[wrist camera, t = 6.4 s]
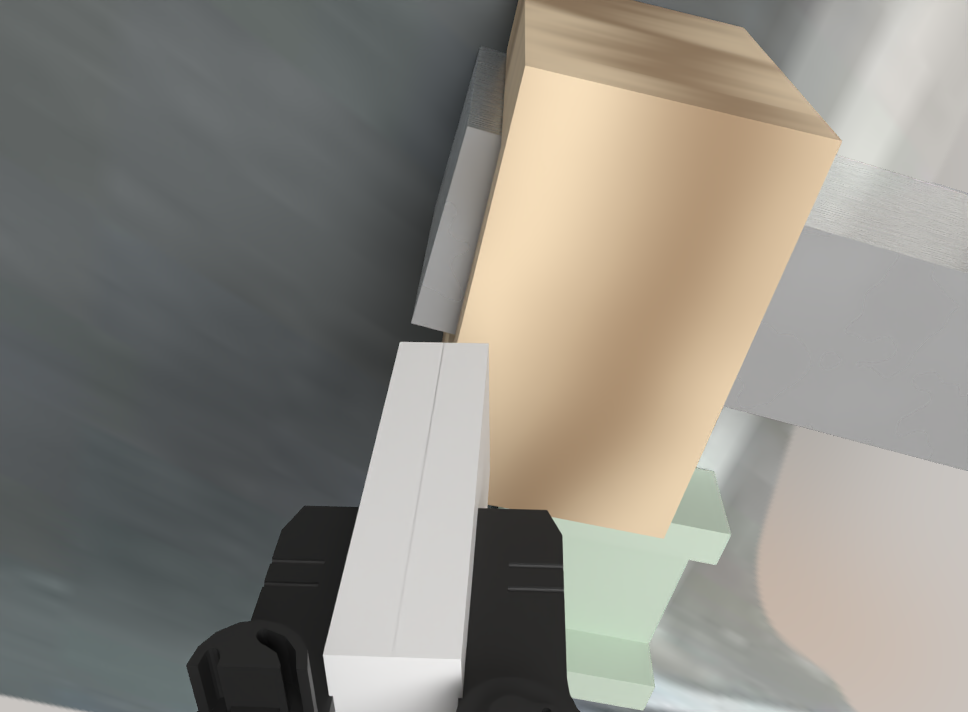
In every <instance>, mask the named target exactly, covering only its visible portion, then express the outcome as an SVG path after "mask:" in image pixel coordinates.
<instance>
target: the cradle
mask: <svg viewBox="0 0 968 712" xmlns="http://www.w3.org/2000/svg"><path fill="white" fill-rule="evenodd" d="M498 509H508V508H503V507H498ZM552 519H553V520H554V522H555V524H556V525H557V527H558V529H559V530H560V532H561V534H562V536H563V570H564V599H565V630H566V661H567V681H568V687H569V692H570V695H571V697H572V698H576V699H582V700H587V701H593V702H599V703H604V704H610V705H615V706H621V707H627V708H632V709H638V710H644V708H645V706H646V704H647V702H648V700H649V698H650V696H651V694H652V692H653V690H654V688H655V683H654V676H653V669H652V662H651V656H650V649H649V642H650V640H651V638H652V636H653V634H654V632H655V630H656V628H657V625H658V623H659V621H660V619H661V617H662V615H663V613H664V611H665V609H666V607H667V604H668V602H669V600H670V598H671V596H672V594H673V592H674V590H675V588H676V586H677V583H678V581H679V579H680V577H681V575H682V573H683V571H684V569H685V567H686V565H687V562H688V560H693V561H698V562H703V563H708V564H713V565H716V564H717V562H718V560H719V558H720V556H721V554H722V552H723V550H724V548H725V546H726V544H727V542H728V540H729V538H730V536H731V532H730V528H729V525H728V521H727V517H726V514H725V510H724V506H723V503H722V499H721V495H720V492H719V488H718V484H717V481H716V477H715V474H714V472H713V471H708V470H703V469H699V468H695V470H694V473H693V475H692V477H691V479H690V482H689V484H688V486H687V488H686V491H685V493H684V495H683V497H682V499H681V502H680V504H679V506H678V508H677V511H676V513H675V515H674V517H673V520H672V522H671V524H670V526H669V528H668V531H667V533H666V535H665V537H664V539H662V538H657V537H652V536H647V535H641V534H636V533H631V532H626V531H621V530H616V529H611V528H606V527H601V526H595V525H590V524H585V523H580V522H575V521H570V520H565V519H560V518H554V517H552Z"/></svg>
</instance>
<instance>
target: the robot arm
mask: <svg viewBox="0 0 968 712" xmlns="http://www.w3.org/2000/svg"><path fill="white" fill-rule="evenodd" d="M489 477H490V426H489V343H436V342H400V344H399V348H398V352H397V356H396V360H395V364H394V368H393V372H392V376H391V380H390V384H389V388H388V393H387V397H386V401H385V405H384V409H383V413H382V417H381V421H380V425H379V429H378V433H377V437H376V441H375V445H374V449H373V453H372V458H371V462H370V466H369V470H368V474H367V478H366V482H365V486H364V490H363V494H362V498H361V502H360V506H359V507H329V506H304V507H303V508H302V509H301V510H300V511H299V512H298V513H297V514H296V515H295V516H294V518H293V519H292V520H291V521H290V522H289V523H288V524H287V525H286V526H285V527H284V528H283V529H282V531H281V534H280V537H279V540H278V543H277V546H276V549H275V551H274V554H273V557H272V564H270V566H269V569H268V572H267V575H266V578H265V581H264V582H265V584H264V587H262V590H261V592H260V595H259V598H258V601H257V604H256V607H255V610H254V613H253V616H252V619H251V621H248V622H240V623H237V624H234V625H232V626H230V627H227V628H225V629H222V630H220V631H218V632H216V633H215V634H213V635H212V636H211V637H210V638H208V639H207V640H206V641H205V642H203V643H202V644H201V645H200V646H198V648H197V649H196V651H195V652H194V654H193V656H192V657H191V659H190V660H189V662H188V663H187V665H186V666H187V670H188V673H189V677H190V681H191V685H192V688H193V692H194V696H195V699H196V703H197V707H198V710H199V711H197V712H580V711H579V710H578V709H577V707H576V705H575V703H574V701H573V699H572V697H571V695H570V692H569V687H568V681H567V661H566V630H565V599H564V570H563V536H562V534H561V532H560V530H559V529H558V527H557V525H556V524H555V522H554V520H553V519H552V517H551V515H550V514H549V512H548V510H533V509H493V508H487V505H488V491H489Z"/></svg>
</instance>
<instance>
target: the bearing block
mask: <svg viewBox="0 0 968 712" xmlns="http://www.w3.org/2000/svg"><path fill="white" fill-rule="evenodd" d="M841 143H842V140H841V139H840V138H839V137H838V136H837V135H836V133H835V132H834V131H833V130H832V129H831V128H830V127H829V125H828V124H827V123H826V122H825V121H824V120H823V118H822V117H821V116H820V115H819V114H818V113H817V112H816V110H815V109H814V108H813V107H812V106H811V105H810V104H809V102H808V101H807V100H806V99H805V98H804V97H803V95H802V94H801V93H800V92H799V91H798V90H797V89H796V87H795V86H794V85H793V84H792V83H791V82H790V81H789V79H788V78H787V77H786V76H785V75H784V74H783V73H782V71H781V70H780V69H779V68H778V67H777V66H776V64H775V63H774V62H773V61H772V60H771V59H770V58H769V56H768V55H767V54H766V53H765V52H764V51H763V50H762V48H761V47H760V46H759V45H758V44H757V43H756V42H755V40H754V39H753V38H752V37H751V36H750V35H749V33H748V32H747V31H746V30H745V29H744V28H743V27H739V26H734V25H730V24H726V23H722V22H718V21H714V20H710V19H706V18H702V17H698V16H694V15H690V14H686V13H682V12H678V11H674V10H670V9H666V8H662V7H658V6H654V5H650V4H646V3H641V2H637V1H633V0H518V5H517V9H516V13H515V18H514V22H513V26H512V31H511V35H510V39H509V43H508V48H507V58H506V74H505V91H504V107H503V124H502V140H501V148H500V152H499V156H498V160H497V164H496V168H495V172H494V177H493V181H492V185H491V189H490V193H489V197H488V201H487V205H486V209H485V214H484V218H483V222H482V226H481V230H480V234H479V238H478V242H477V247H476V251H475V255H474V259H473V263H472V267H471V271H470V275H469V279H468V284H467V288H466V292H465V296H464V300H463V304H462V308H461V312H460V317H459V321H458V325H457V329H456V333H455V335H454V334H450V333H446V332H444V333H443V340H442V343H489V426H490V477H489V491H488V505H493V506H498V507H503V508H508V509H533V510H548V512H549V514H550V515H551V517H554V518H560V519H565V520H570V521H575V522H580V523H585V524H590V525H595V526H601V527H606V528H611V529H616V530H621V531H626V532H631V533H636V534H641V535H647V536H652V537H657V538H662V539H664V537H665V535H666V533H667V531H668V528H669V526H670V524H671V522H672V520H673V517H674V515H675V513H676V511H677V508H678V506H679V504H680V502H681V499H682V497H683V495H684V493H685V491H686V488H687V486H688V484H689V482H690V479H691V477H692V475H693V473H694V470H695V468H696V466H697V464H698V462H699V459H700V457H701V455H702V453H703V450H704V448H705V446H706V444H707V441H708V439H709V437H710V435H711V433H712V430H713V428H714V426H715V424H716V421H717V419H718V417H719V415H720V412H721V410H722V408H723V406H724V404H725V401H726V399H727V397H728V395H729V392H730V390H731V388H732V386H733V383H734V381H735V379H736V377H737V375H738V372H739V370H740V368H741V366H742V363H743V361H744V359H745V357H746V355H747V352H748V350H749V348H750V346H751V343H752V341H753V339H754V337H755V334H756V332H757V330H758V328H759V326H760V323H761V321H762V319H763V317H764V314H765V312H766V310H767V308H768V305H769V303H770V301H771V299H772V297H773V294H774V292H775V290H776V288H777V285H778V283H779V281H780V279H781V276H782V274H783V272H784V270H785V268H786V265H787V263H788V261H789V259H790V256H791V254H792V252H793V250H794V247H795V245H796V243H797V241H798V239H799V236H800V234H801V232H802V230H803V227H804V225H805V223H806V221H807V218H808V216H809V214H810V212H811V210H812V207H813V205H814V203H815V201H816V198H817V196H818V194H819V192H820V189H821V187H822V185H823V183H824V181H825V178H826V176H827V174H828V172H829V169H830V167H831V165H832V163H833V160H834V158H835V156H836V154H837V152H838V149H839V147H840V145H841Z"/></svg>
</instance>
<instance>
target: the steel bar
mask: <svg viewBox="0 0 968 712" xmlns="http://www.w3.org/2000/svg"><path fill="white" fill-rule="evenodd" d="M506 58H507V54H506V53H503V52H499V51H496V50H493V49H490V48H486V47H483V46H480V49H479V52H478V56H477V59H476V63H475V67H474V70H473V74H472V77H471V81H470V84H469V88H468V92H467V95H466V99H465V102H464V106H463V109H462V113H461V117H460V120H459V124H458V127H457V131H456V134H455V138H454V141H453V145H452V149H451V152H450V156H449V159H448V163H447V166H446V170H445V174H444V177H443V181H442V184H441V188H440V191H439V195H438V199H437V202H436V206H435V209H434V214H433V219H432V224H431V229H430V234H429V239H428V243H427V248H426V253H425V258H424V263H423V268H422V273H421V278H420V283H419V287H418V292H417V297H416V302H415V307H414V312H413V317H412V322H411V323H413V324H416V325H420V326H424V327H428V328H431V329H435V330H439V331H443V332H446V333H450V334H454V335H455V333H456V329H457V325H458V321H459V317H460V312H461V308H462V304H463V300H464V296H465V292H466V288H467V284H468V279H469V275H470V271H471V267H472V263H473V259H474V255H475V251H476V247H477V242H478V238H479V234H480V230H481V226H482V222H483V218H484V214H485V209H486V205H487V201H488V197H489V193H490V189H491V185H492V181H493V177H494V172H495V168H496V164H497V160H498V156H499V152H500V148H501V140H502V124H503V107H504V91H505V74H506ZM724 406H725V407H729V408H732V409H736V410H740V411H744V412H747V413H751V414H755V415H759V416H762V417H766V418H770V419H774V420H778V421H781V422H785V423H789V424H793V425H796V426H800V427H804V428H808V429H811V430H815V431H819V432H823V433H826V434H830V435H834V436H838V437H841V438H845V439H849V440H853V441H857V442H860V443H865V444H868V445H872V446H876V447H879V448H883V449H887V450H891V451H894V452H898V453H902V454H905V455H909V456H913V457H917V458H921V459H924V460H928V461H932V462H936V463H939V464H943V465H947V466H951V467H955V468H958V469H962V470H966V471H968V193H966V192H963V191H960V190H957V189H953V188H950V187H947V186H944V185H940V184H937V183H934V182H933V184H932V183H928V182H925V181H922V180H918V179H915V178H912V177H909V176H905V175H902V174H899V173H896V172H892V171H889V170H886V169H882V168H879V167H876V166H873V165H869V164H866V163H863V162H860V161H856V160H853V159H850V158H846V157H843V156H840V155H837V154H836V156H835V158H834V160H833V163H832V165H831V167H830V169H829V172H828V174H827V176H826V178H825V181H824V183H823V185H822V187H821V189H820V192H819V194H818V196H817V198H816V201H815V203H814V205H813V207H812V210H811V212H810V214H809V216H808V218H807V221H806V223H805V225H804V227H803V230H802V232H801V234H800V236H799V239H798V241H797V243H796V245H795V247H794V250H793V252H792V254H791V256H790V259H789V261H788V263H787V265H786V268H785V270H784V272H783V274H782V276H781V279H780V281H779V283H778V285H777V288H776V290H775V292H774V294H773V297H772V299H771V301H770V303H769V305H768V308H767V310H766V312H765V314H764V317H763V319H762V321H761V323H760V326H759V328H758V330H757V332H756V334H755V337H754V339H753V341H752V343H751V346H750V348H749V350H748V352H747V355H746V357H745V359H744V361H743V363H742V366H741V368H740V370H739V372H738V375H737V377H736V379H735V381H734V383H733V386H732V388H731V390H730V392H729V395H728V397H727V399H726V401H725V404H724Z"/></svg>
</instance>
